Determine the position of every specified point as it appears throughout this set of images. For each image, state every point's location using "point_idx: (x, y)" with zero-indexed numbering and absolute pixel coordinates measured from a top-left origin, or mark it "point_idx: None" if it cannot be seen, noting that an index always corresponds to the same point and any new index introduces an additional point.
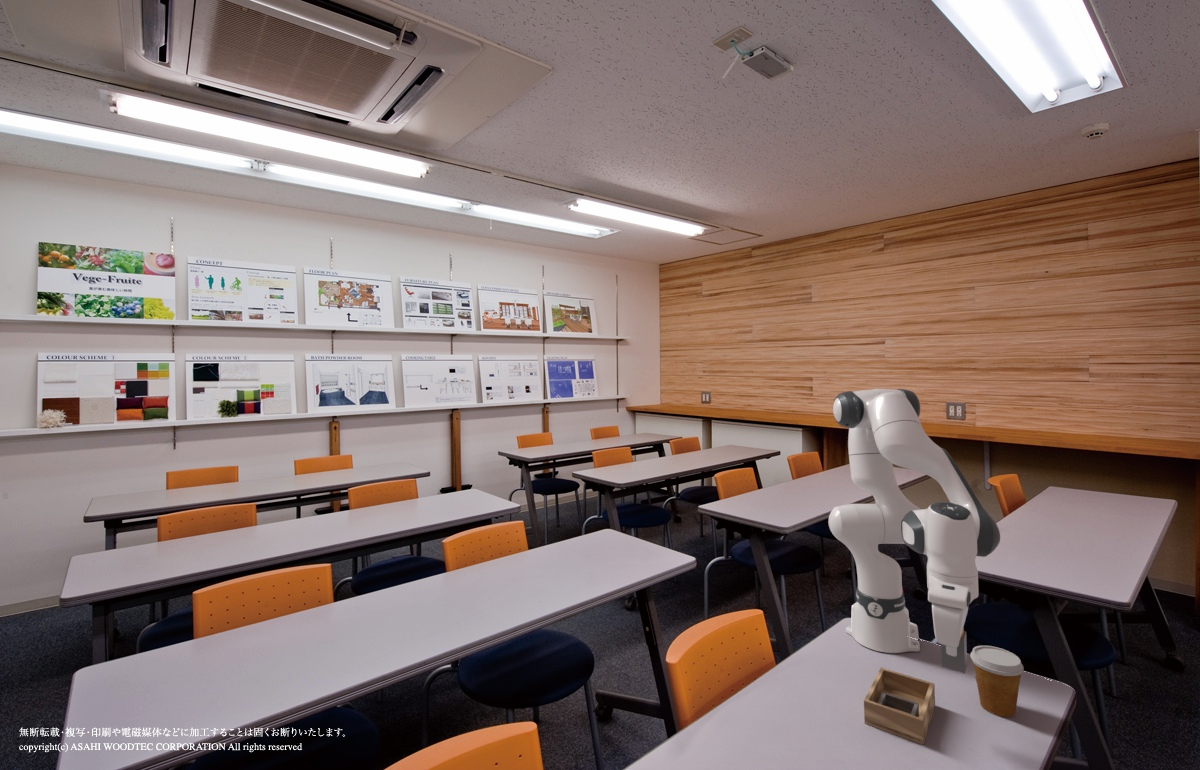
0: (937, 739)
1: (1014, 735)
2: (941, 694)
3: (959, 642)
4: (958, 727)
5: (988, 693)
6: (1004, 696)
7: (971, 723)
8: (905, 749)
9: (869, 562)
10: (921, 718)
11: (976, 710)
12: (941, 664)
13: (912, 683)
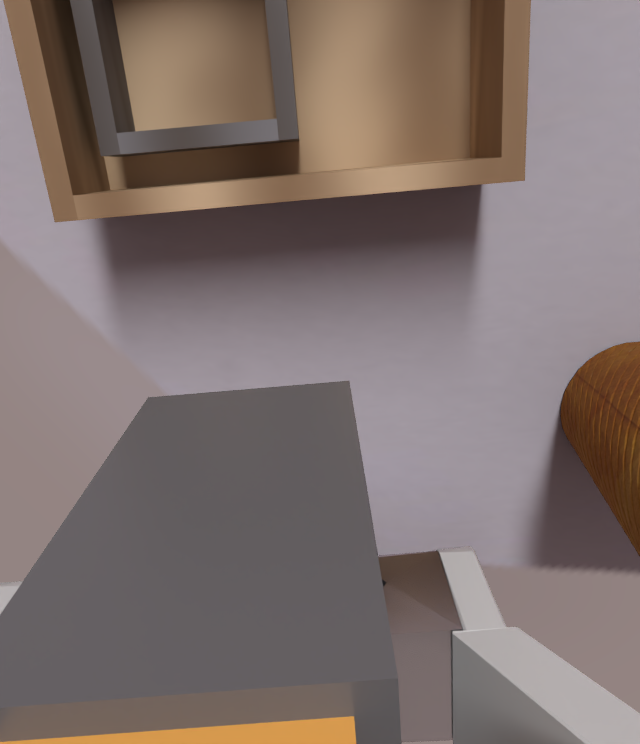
0: (196, 250)
1: (447, 476)
2: (612, 179)
3: None
4: (358, 303)
5: (601, 424)
6: (600, 489)
7: (428, 340)
8: (5, 152)
9: None
10: (73, 211)
11: (553, 338)
12: (142, 407)
13: (493, 47)
